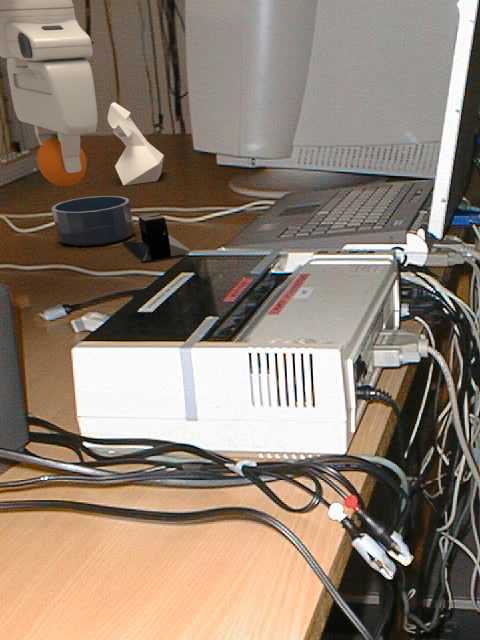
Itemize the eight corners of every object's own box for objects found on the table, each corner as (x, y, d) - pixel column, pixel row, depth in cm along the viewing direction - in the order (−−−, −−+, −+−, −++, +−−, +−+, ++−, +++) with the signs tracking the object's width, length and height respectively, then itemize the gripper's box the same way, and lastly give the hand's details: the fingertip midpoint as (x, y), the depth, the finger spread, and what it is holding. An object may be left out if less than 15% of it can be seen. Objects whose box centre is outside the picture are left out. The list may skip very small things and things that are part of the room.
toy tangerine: (50, 192, 106) (40, 139, 103) (36, 186, 110) (25, 135, 108) (97, 186, 109) (87, 134, 106) (81, 180, 113) (72, 130, 110)
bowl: (74, 252, 129) (66, 216, 126) (49, 238, 137) (42, 204, 134) (146, 238, 134) (140, 203, 132) (119, 225, 142) (112, 192, 140)
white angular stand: (167, 170, 183) (156, 96, 176) (160, 184, 171) (147, 104, 164) (125, 173, 182) (112, 99, 175) (115, 187, 170) (100, 107, 163)
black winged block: (194, 255, 125) (188, 221, 122) (141, 264, 122) (135, 229, 120) (169, 236, 134) (164, 204, 132) (120, 244, 132) (114, 211, 129)
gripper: (-15, 38, 108) (12, 161, 115) (37, 42, 93) (64, 183, 100) (38, 35, 111) (61, 155, 118) (96, 39, 96) (119, 175, 103)
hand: (63, 168), depth 109 cm, fingers closed on toy tangerine, 5 cm apart
